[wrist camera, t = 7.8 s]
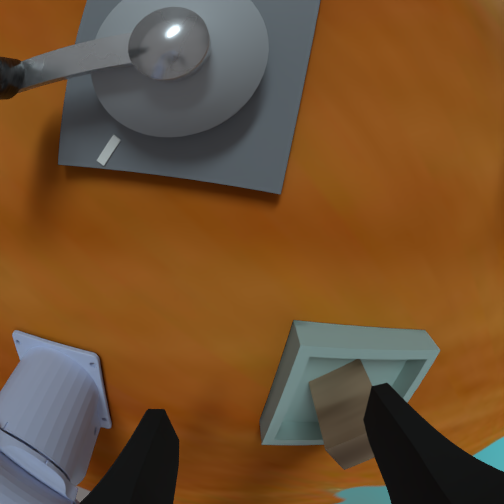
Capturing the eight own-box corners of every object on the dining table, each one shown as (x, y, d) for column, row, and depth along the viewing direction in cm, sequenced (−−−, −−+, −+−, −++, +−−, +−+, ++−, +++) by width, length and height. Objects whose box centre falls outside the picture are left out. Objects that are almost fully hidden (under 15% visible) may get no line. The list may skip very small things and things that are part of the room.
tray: (371, 419, 25) (379, 440, 22) (259, 420, 23) (261, 444, 21) (425, 330, 21) (440, 350, 18) (293, 320, 19) (300, 345, 17)
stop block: (372, 387, 22) (398, 445, 16) (327, 408, 22) (344, 469, 17) (359, 357, 20) (388, 422, 15) (308, 381, 21) (325, 449, 16)
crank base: (278, 191, 16) (285, 202, 14) (64, 162, 15) (42, 169, 13) (320, -15, 12) (332, -33, 10) (105, -32, 10) (90, -49, 8)
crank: (212, 13, 10) (202, -30, 6) (210, 80, 12) (198, 61, 8) (-1, 61, 10) (-55, 56, 6) (-3, 117, 11) (-59, 125, 7)
